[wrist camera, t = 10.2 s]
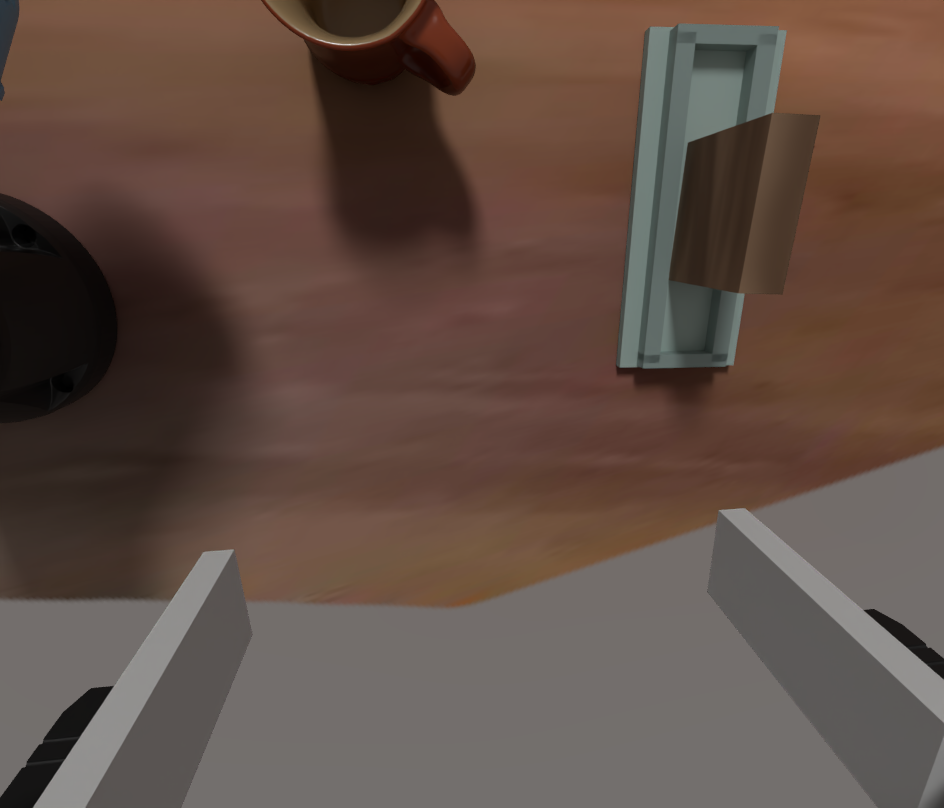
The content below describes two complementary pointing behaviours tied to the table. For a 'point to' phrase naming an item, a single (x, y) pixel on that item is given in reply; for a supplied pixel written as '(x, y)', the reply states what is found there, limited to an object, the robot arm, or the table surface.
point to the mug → (380, 40)
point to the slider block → (743, 204)
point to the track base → (660, 180)
